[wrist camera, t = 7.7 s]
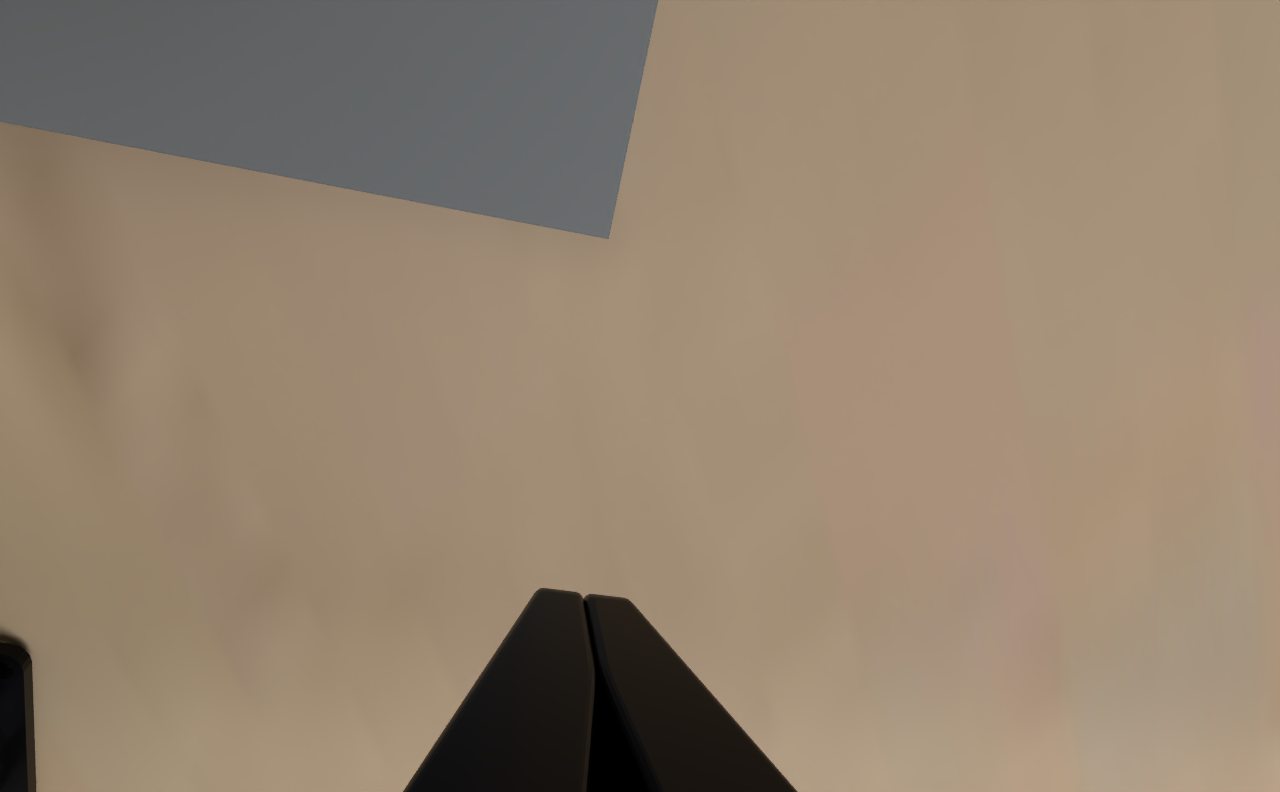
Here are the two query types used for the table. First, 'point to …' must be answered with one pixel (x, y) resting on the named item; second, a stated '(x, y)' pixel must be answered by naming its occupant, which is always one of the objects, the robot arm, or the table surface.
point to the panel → (351, 92)
